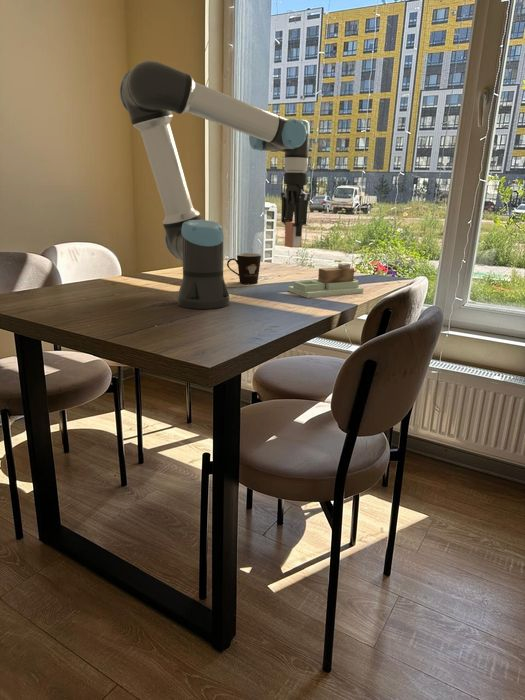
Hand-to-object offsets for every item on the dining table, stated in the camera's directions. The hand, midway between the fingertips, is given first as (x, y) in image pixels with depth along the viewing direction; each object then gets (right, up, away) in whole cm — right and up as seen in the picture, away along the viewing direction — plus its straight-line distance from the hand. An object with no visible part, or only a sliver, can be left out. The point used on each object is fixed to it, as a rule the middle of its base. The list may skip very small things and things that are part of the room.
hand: (292, 245), depth 173 cm
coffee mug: (-17, -11, +12) cm, 23 cm away
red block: (0, 0, 0) cm, 0 cm away
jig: (+11, -16, -1) cm, 19 cm away
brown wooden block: (+14, -14, 0) cm, 20 cm away
